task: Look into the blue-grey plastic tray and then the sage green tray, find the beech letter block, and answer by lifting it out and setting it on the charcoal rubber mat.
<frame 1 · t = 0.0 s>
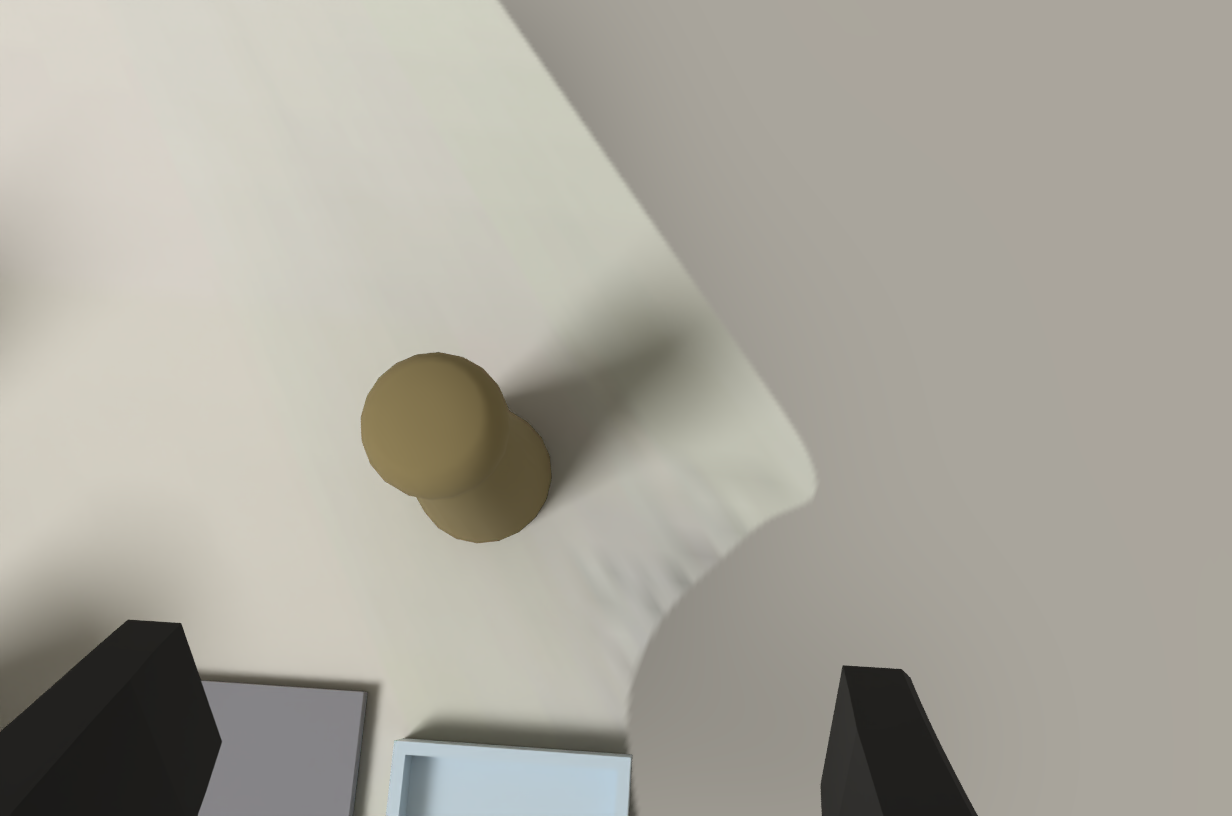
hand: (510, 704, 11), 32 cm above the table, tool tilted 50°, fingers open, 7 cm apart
cork: (484, 475, 45), on the table
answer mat: (262, 772, 42), on the table
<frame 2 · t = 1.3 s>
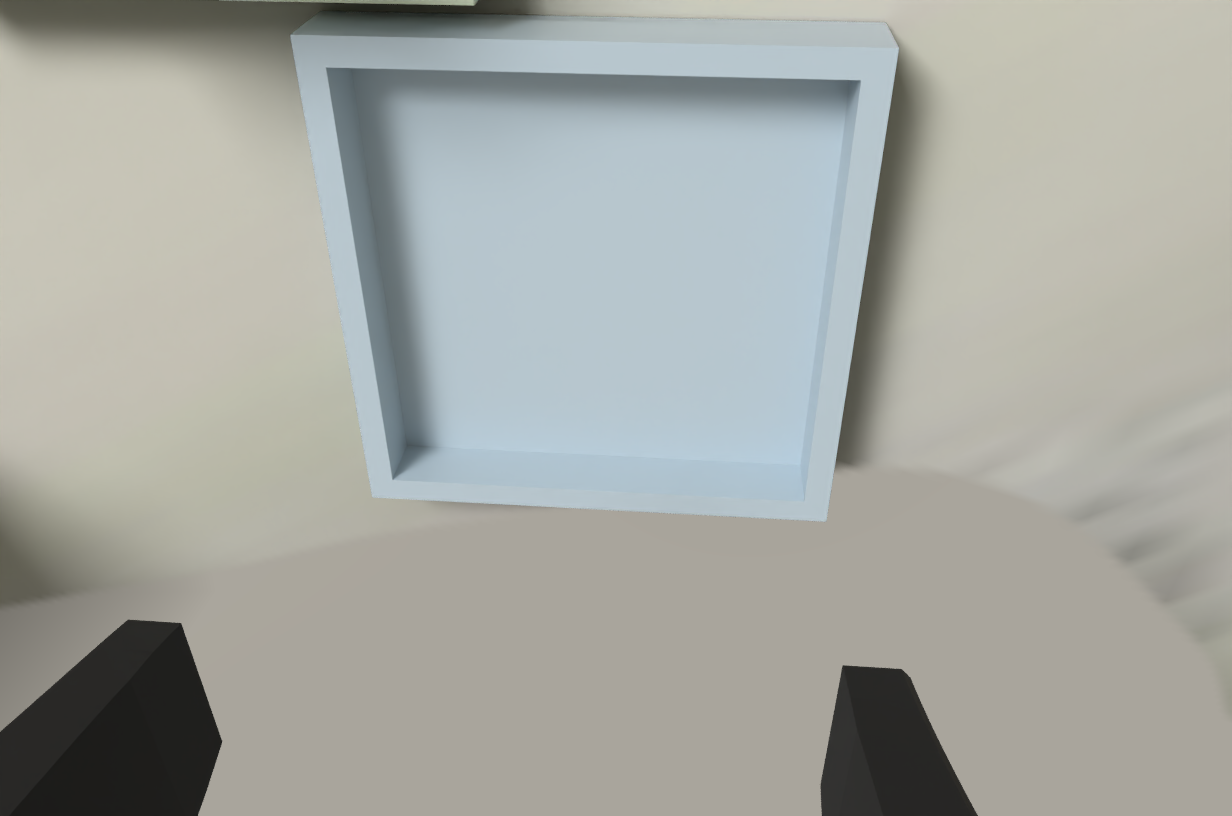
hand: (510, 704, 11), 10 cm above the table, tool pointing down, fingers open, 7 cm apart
blue-grey tray: (600, 271, 20), on the table
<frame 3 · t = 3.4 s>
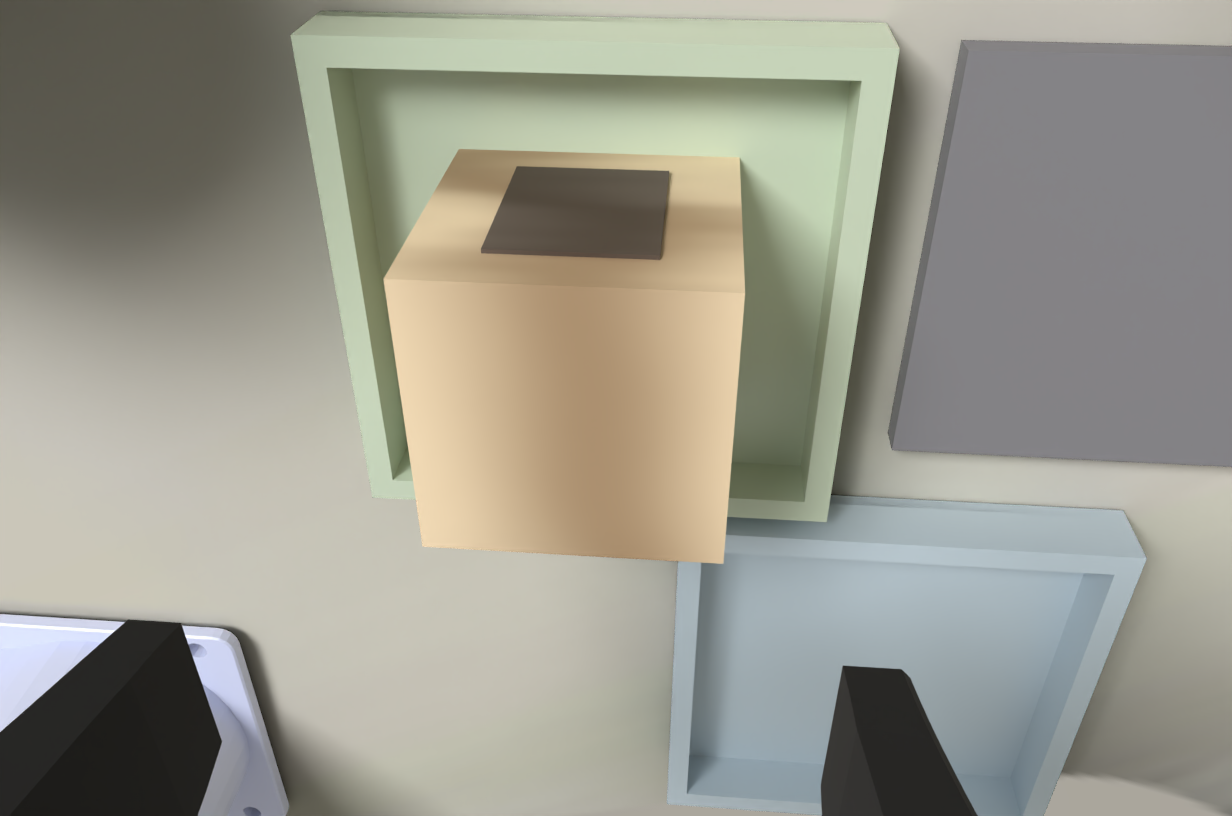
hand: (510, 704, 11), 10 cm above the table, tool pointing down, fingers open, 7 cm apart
sage tray: (600, 271, 20), on the table
letter block: (599, 279, 20), resting on sage tray
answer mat: (1113, 267, 19), on the table
blue-grey tray: (868, 647, 25), on the table
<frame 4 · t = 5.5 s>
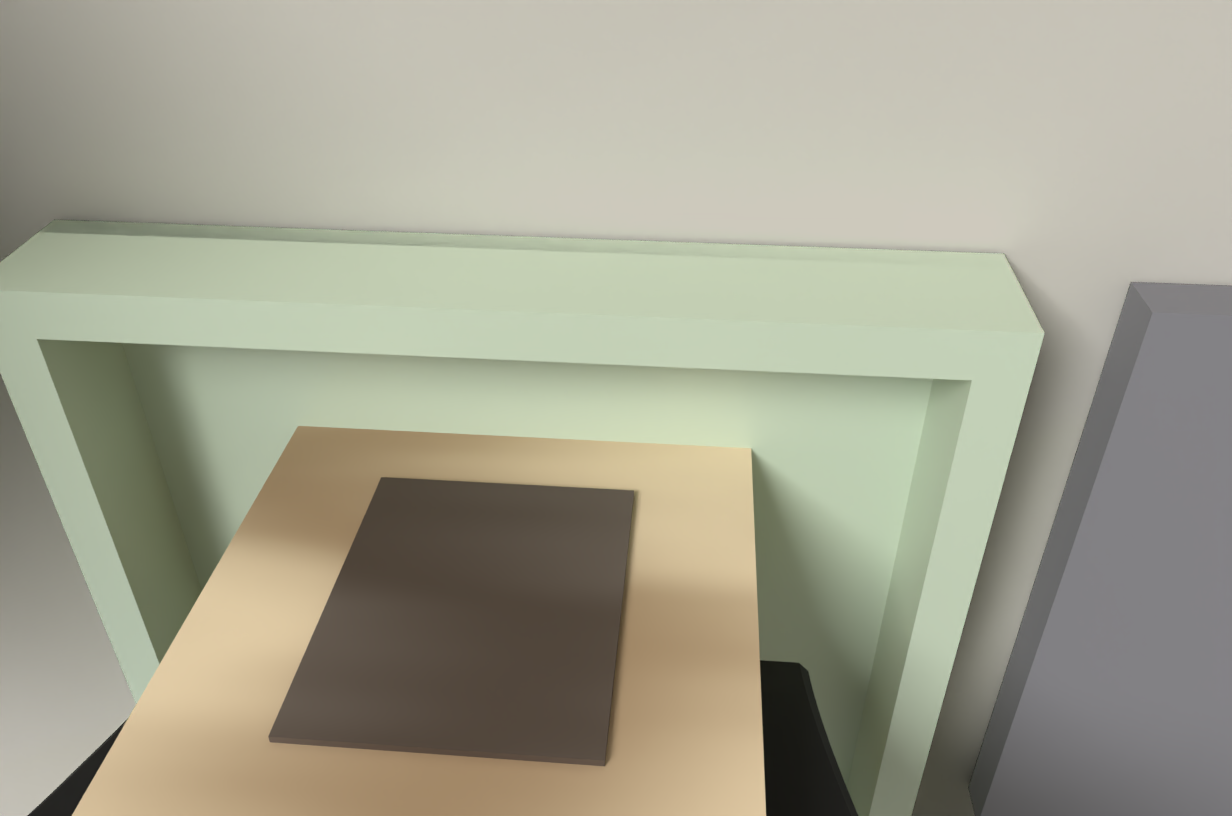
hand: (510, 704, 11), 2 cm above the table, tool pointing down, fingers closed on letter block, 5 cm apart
sage tray: (535, 582, 13), on the table
letter block: (532, 600, 13), resting on sage tray, touching gripper
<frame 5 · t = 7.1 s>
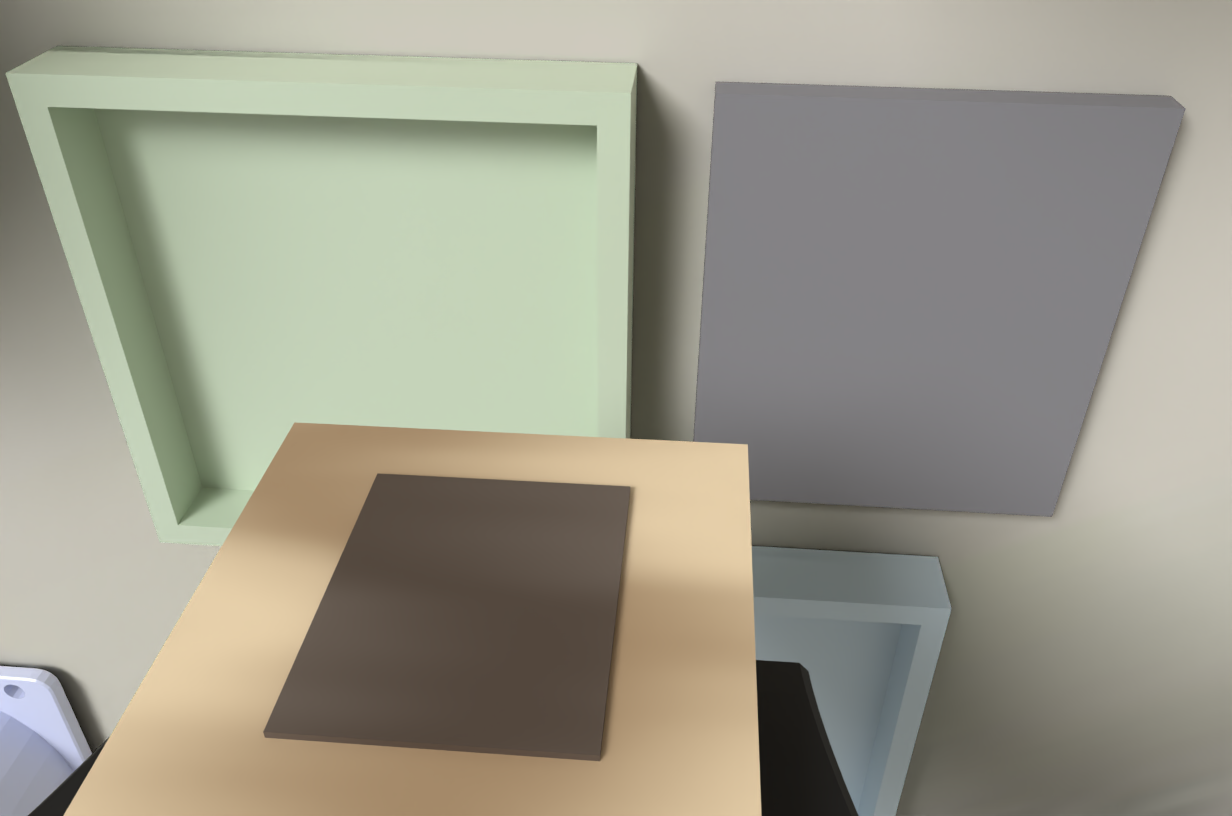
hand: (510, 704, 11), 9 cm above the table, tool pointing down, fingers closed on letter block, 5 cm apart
sage tray: (379, 313, 19), on the table
letter block: (529, 597, 13), point 7 cm above the table, touching gripper
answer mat: (898, 312, 18), on the table
blue-grey tray: (698, 692, 24), on the table
when the fingers open (3 cm above the table, at t = 9.0 s): letter block drops 1 cm, resting on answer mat.
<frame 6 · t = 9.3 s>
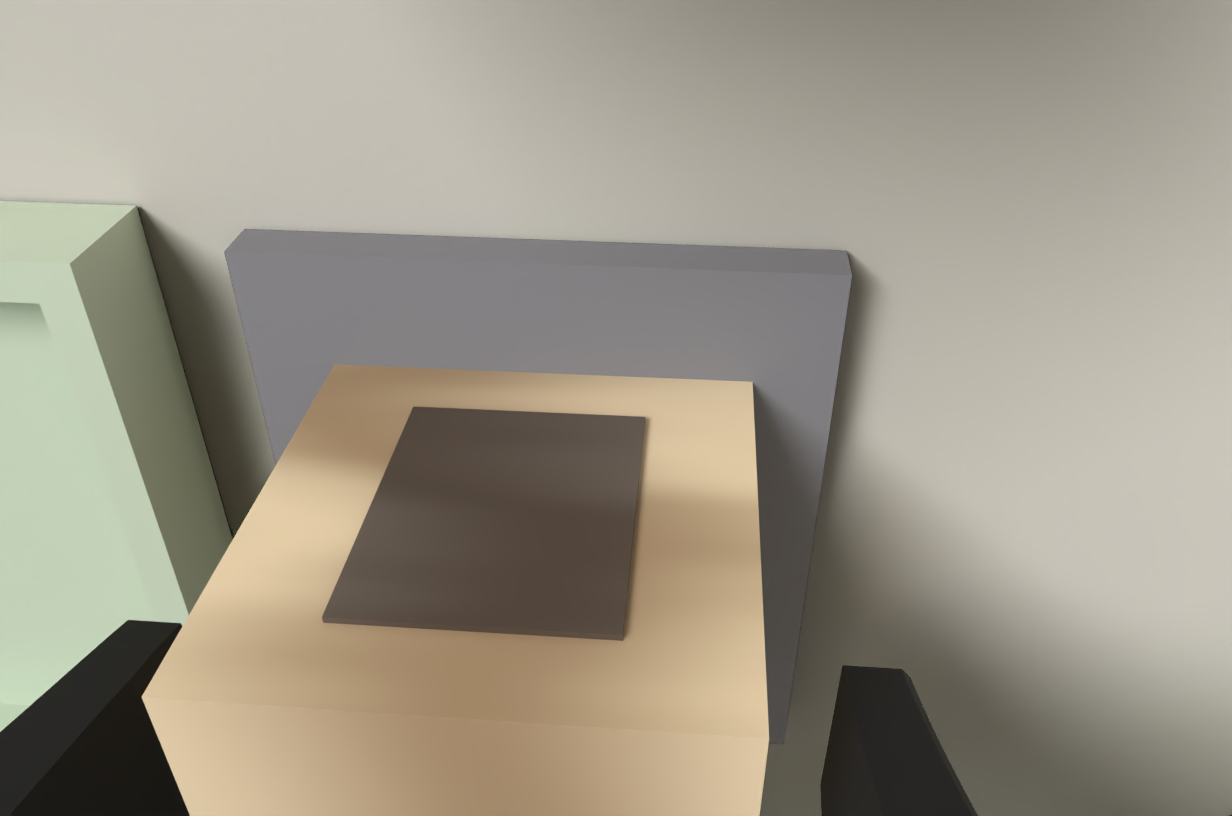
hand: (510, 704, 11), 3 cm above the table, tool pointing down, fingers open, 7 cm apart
letter block: (549, 531, 14), point 1 cm above the table, touching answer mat
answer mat: (552, 505, 14), on the table
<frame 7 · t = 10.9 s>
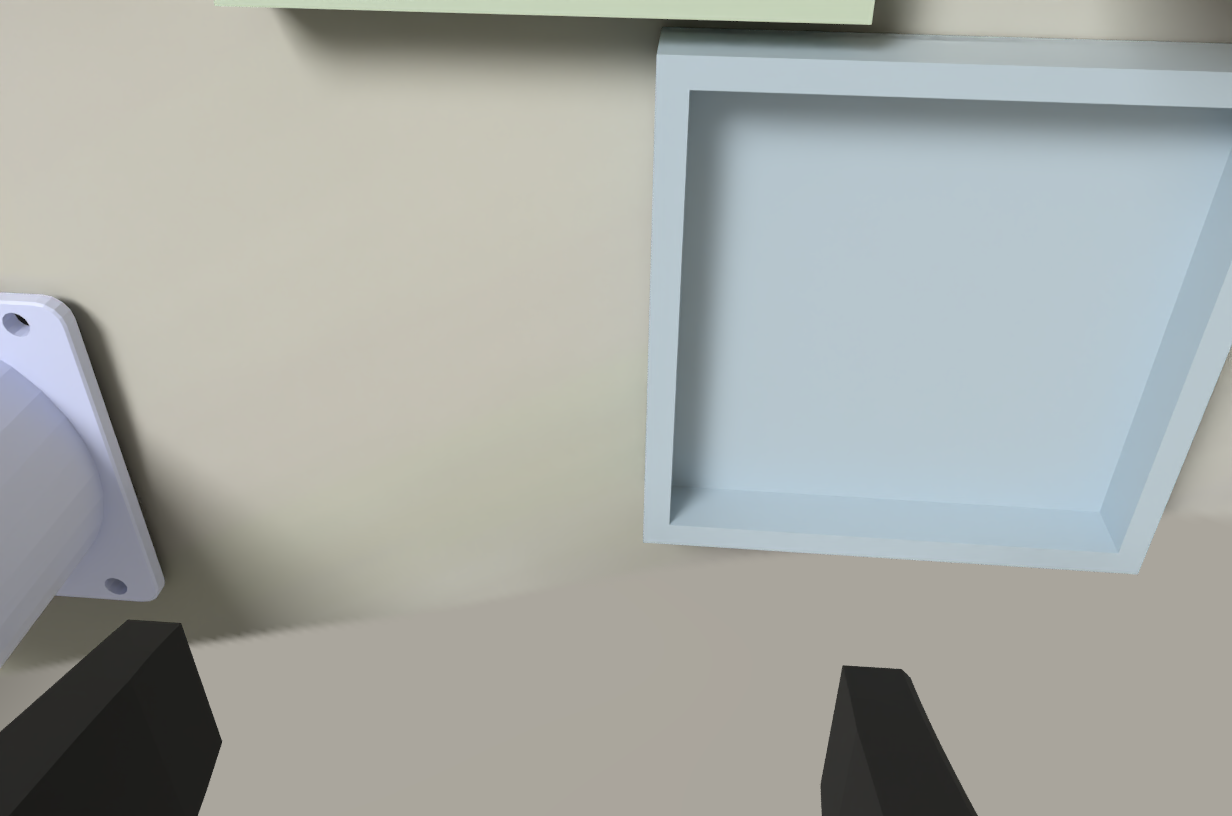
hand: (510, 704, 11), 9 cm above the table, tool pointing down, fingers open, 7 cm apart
blue-grey tray: (917, 306, 18), on the table
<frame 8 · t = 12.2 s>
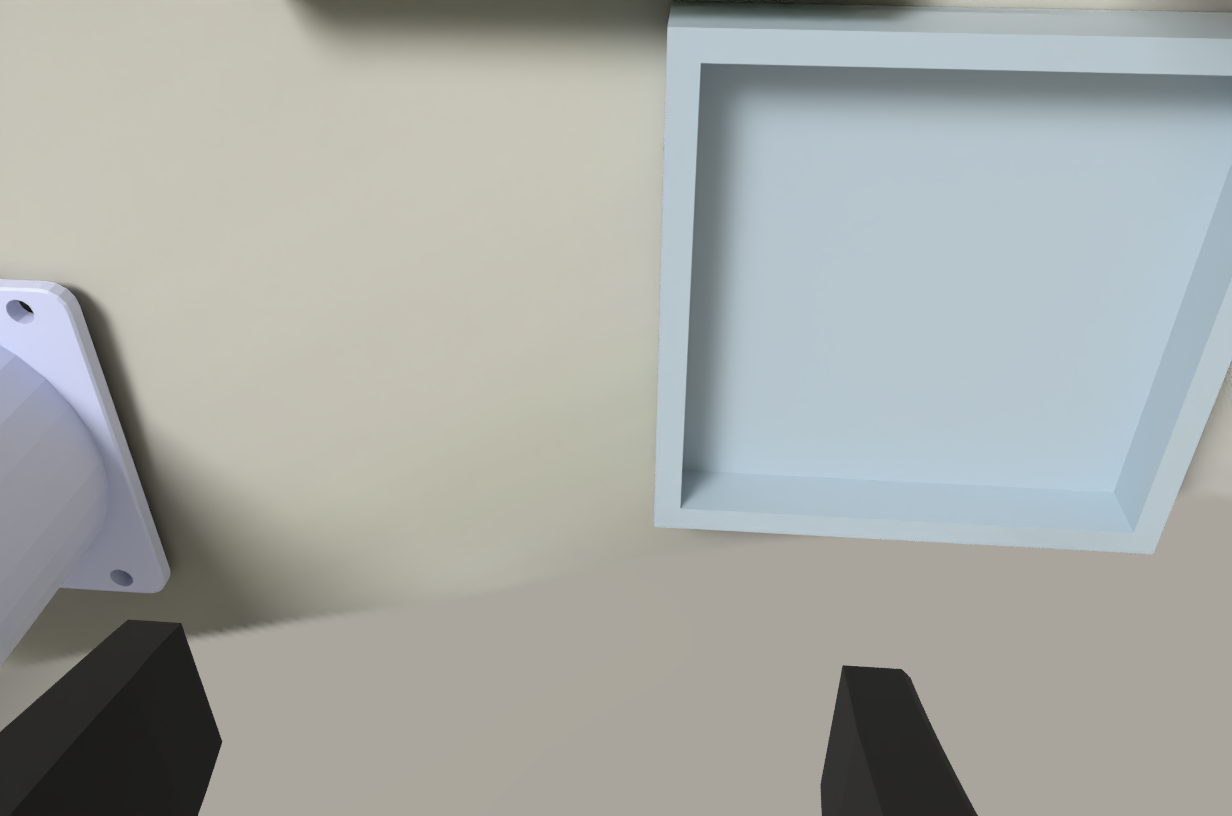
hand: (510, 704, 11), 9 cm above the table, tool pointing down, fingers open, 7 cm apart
blue-grey tray: (929, 285, 18), on the table
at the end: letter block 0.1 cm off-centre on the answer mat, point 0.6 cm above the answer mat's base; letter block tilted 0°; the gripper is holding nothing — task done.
